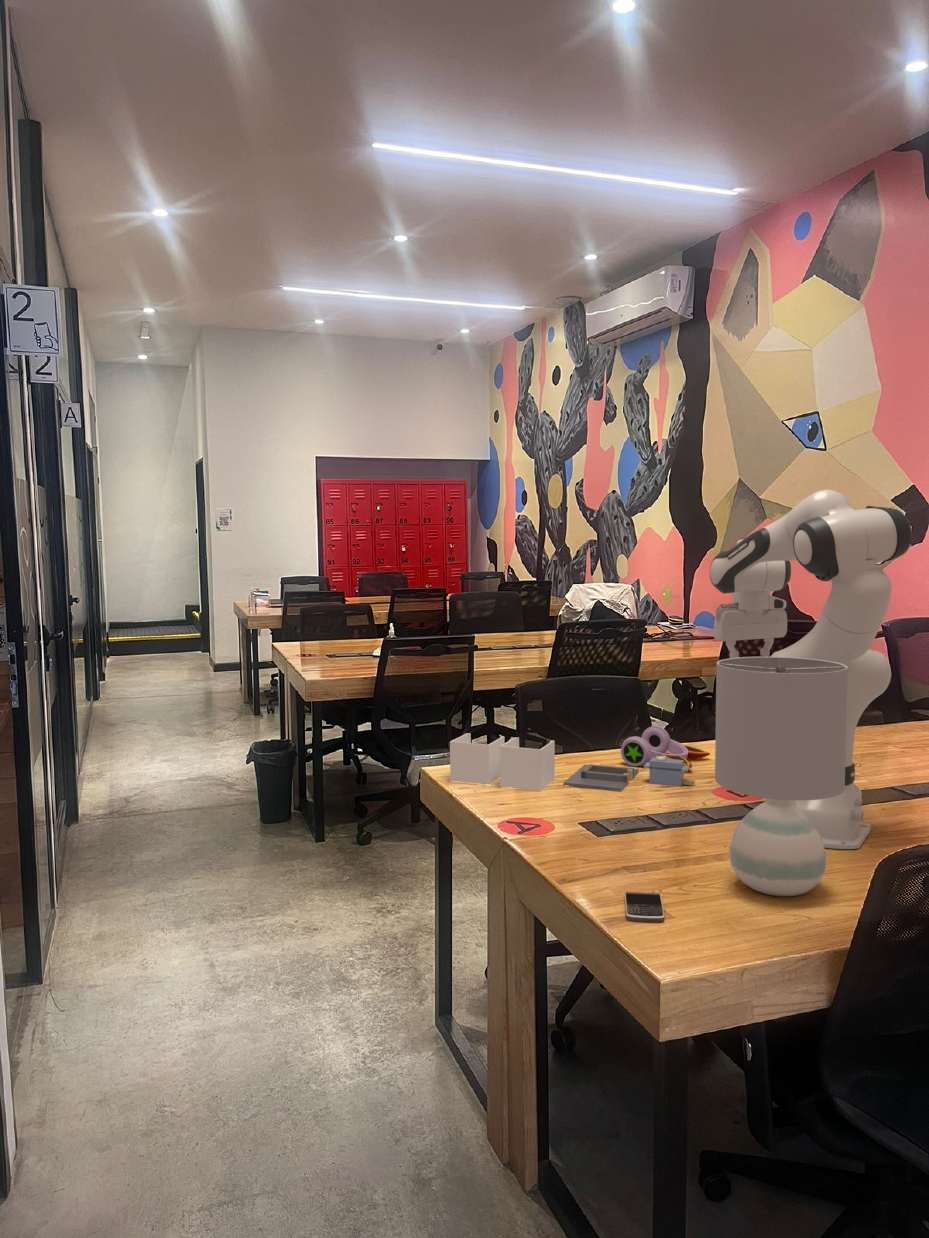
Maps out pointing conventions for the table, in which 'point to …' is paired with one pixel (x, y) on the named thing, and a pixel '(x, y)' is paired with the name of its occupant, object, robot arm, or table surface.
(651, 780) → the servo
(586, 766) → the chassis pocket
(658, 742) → the headphones
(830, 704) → the lamp
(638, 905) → the cell phone
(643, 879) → the table surface
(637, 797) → the table surface
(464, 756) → the double compartment bin
